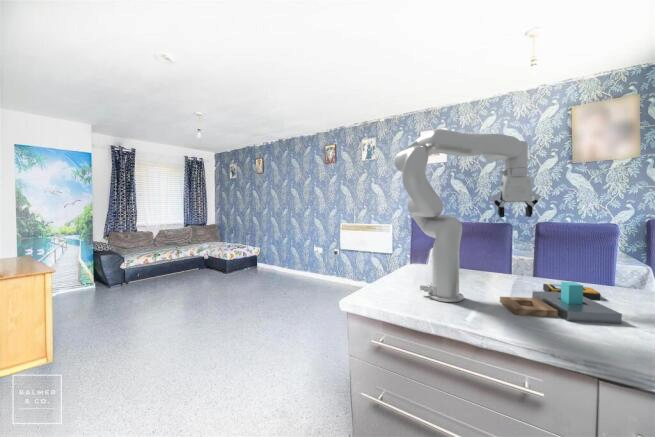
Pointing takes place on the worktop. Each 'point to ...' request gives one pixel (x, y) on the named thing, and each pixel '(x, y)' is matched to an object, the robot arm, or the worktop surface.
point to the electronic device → (587, 292)
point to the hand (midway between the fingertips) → (514, 216)
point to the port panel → (579, 309)
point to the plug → (572, 293)
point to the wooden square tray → (528, 306)
